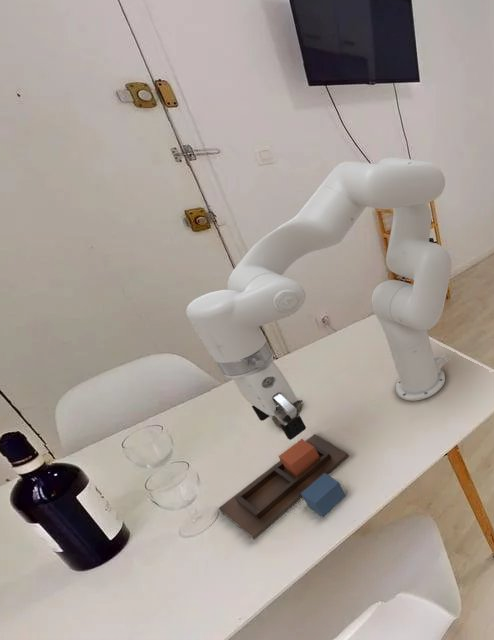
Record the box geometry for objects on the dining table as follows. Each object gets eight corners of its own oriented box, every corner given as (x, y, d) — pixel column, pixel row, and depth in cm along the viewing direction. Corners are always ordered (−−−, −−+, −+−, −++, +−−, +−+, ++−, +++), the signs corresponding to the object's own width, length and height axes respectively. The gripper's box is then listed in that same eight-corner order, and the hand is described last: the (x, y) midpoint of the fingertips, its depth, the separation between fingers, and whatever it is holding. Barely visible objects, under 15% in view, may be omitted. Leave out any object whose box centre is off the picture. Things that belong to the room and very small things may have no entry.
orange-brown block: (309, 452, 91) (301, 438, 89) (321, 460, 89) (314, 446, 87) (286, 469, 88) (278, 456, 85) (298, 479, 86) (290, 465, 83)
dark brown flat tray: (316, 436, 96) (312, 429, 95) (349, 456, 91) (345, 448, 90) (220, 511, 81) (214, 503, 80) (254, 539, 76) (248, 531, 75)
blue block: (331, 486, 85) (324, 472, 83) (345, 495, 83) (339, 481, 81) (308, 507, 81) (300, 493, 79) (322, 517, 79) (315, 503, 77)
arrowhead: (280, 433, 97) (277, 429, 97) (268, 412, 103) (266, 408, 103) (312, 416, 102) (310, 412, 101) (299, 397, 108) (297, 393, 107)
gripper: (294, 359, 70) (328, 427, 79) (242, 332, 78) (278, 396, 86) (247, 387, 65) (288, 457, 73) (196, 355, 72) (239, 421, 81)
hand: (283, 424), depth 80 cm, fingers open, 9 cm apart
